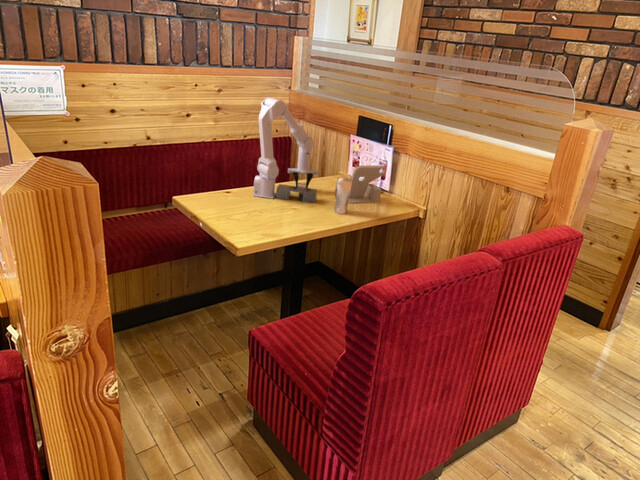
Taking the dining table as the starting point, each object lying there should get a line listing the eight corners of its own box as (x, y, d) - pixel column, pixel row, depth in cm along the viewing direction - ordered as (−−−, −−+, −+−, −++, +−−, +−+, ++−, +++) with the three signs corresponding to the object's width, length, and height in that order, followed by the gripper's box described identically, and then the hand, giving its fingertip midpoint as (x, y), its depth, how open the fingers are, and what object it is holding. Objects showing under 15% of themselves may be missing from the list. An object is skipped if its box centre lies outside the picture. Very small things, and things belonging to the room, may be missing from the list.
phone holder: (372, 195, 247) (377, 160, 240) (382, 202, 239) (387, 166, 232) (340, 196, 240) (345, 160, 233) (349, 203, 232) (354, 166, 225)
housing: (275, 198, 229) (276, 187, 227) (278, 194, 235) (279, 184, 233) (314, 203, 227) (315, 193, 225) (316, 199, 233) (317, 189, 231)
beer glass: (348, 210, 224) (352, 178, 218) (348, 215, 217) (352, 182, 211) (333, 208, 224) (337, 176, 218) (332, 213, 218) (336, 180, 212)
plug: (296, 198, 231) (297, 191, 230) (297, 189, 244) (297, 182, 243) (305, 199, 231) (306, 192, 230) (305, 190, 244) (306, 183, 243)
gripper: (289, 162, 232) (287, 189, 238) (319, 164, 235) (317, 191, 240) (288, 158, 239) (286, 185, 244) (318, 160, 241) (315, 186, 246)
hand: (301, 187), depth 243 cm, fingers closed on plug, 4 cm apart
